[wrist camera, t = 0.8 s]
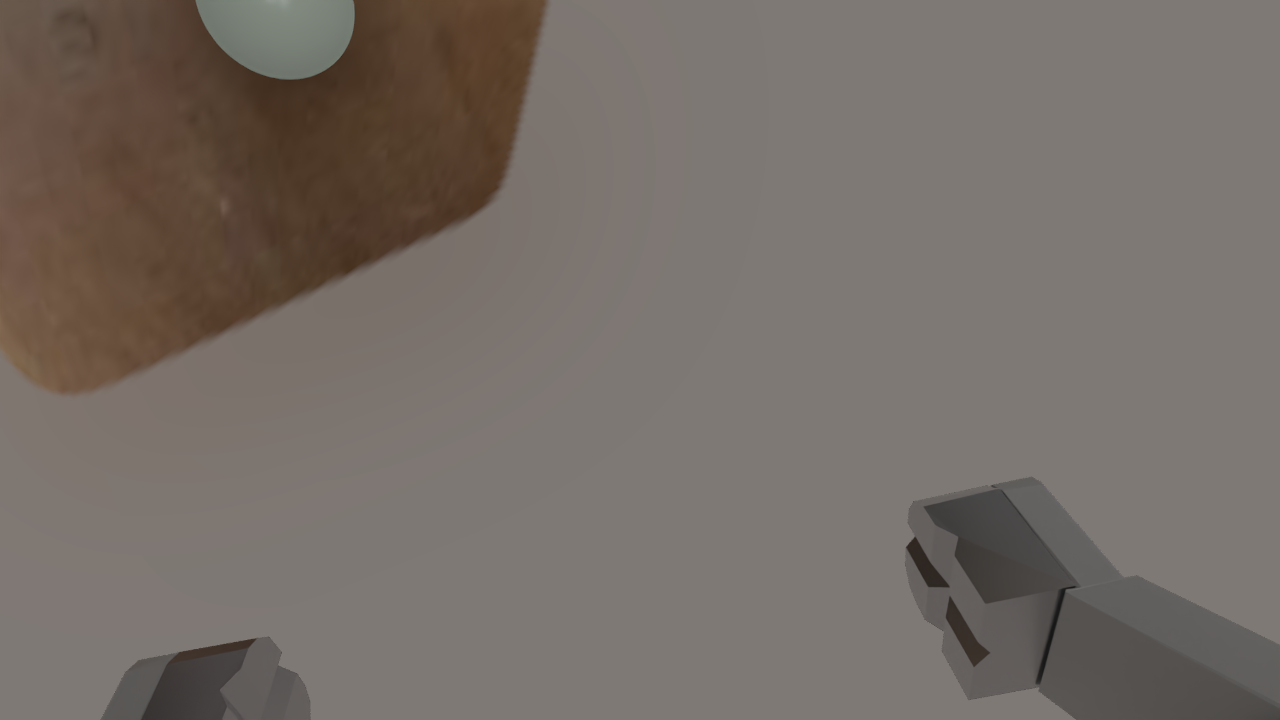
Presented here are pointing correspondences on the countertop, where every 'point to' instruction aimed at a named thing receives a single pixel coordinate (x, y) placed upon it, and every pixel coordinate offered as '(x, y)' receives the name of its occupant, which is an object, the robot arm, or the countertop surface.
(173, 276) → the countertop surface
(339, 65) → the countertop surface
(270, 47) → the sage green cylinder
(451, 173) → the countertop surface
